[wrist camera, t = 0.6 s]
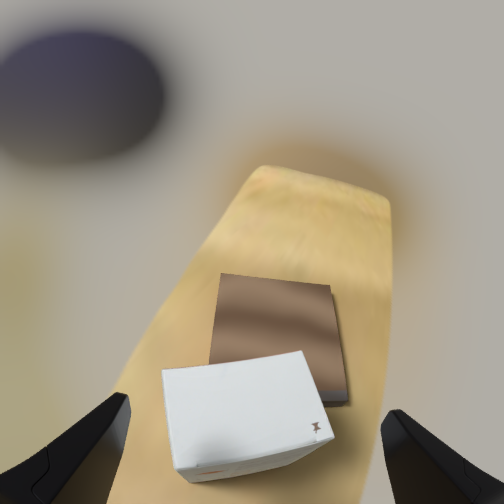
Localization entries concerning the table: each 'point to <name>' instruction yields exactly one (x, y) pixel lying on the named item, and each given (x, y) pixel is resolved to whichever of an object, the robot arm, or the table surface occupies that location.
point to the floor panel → (280, 328)
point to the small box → (242, 416)
